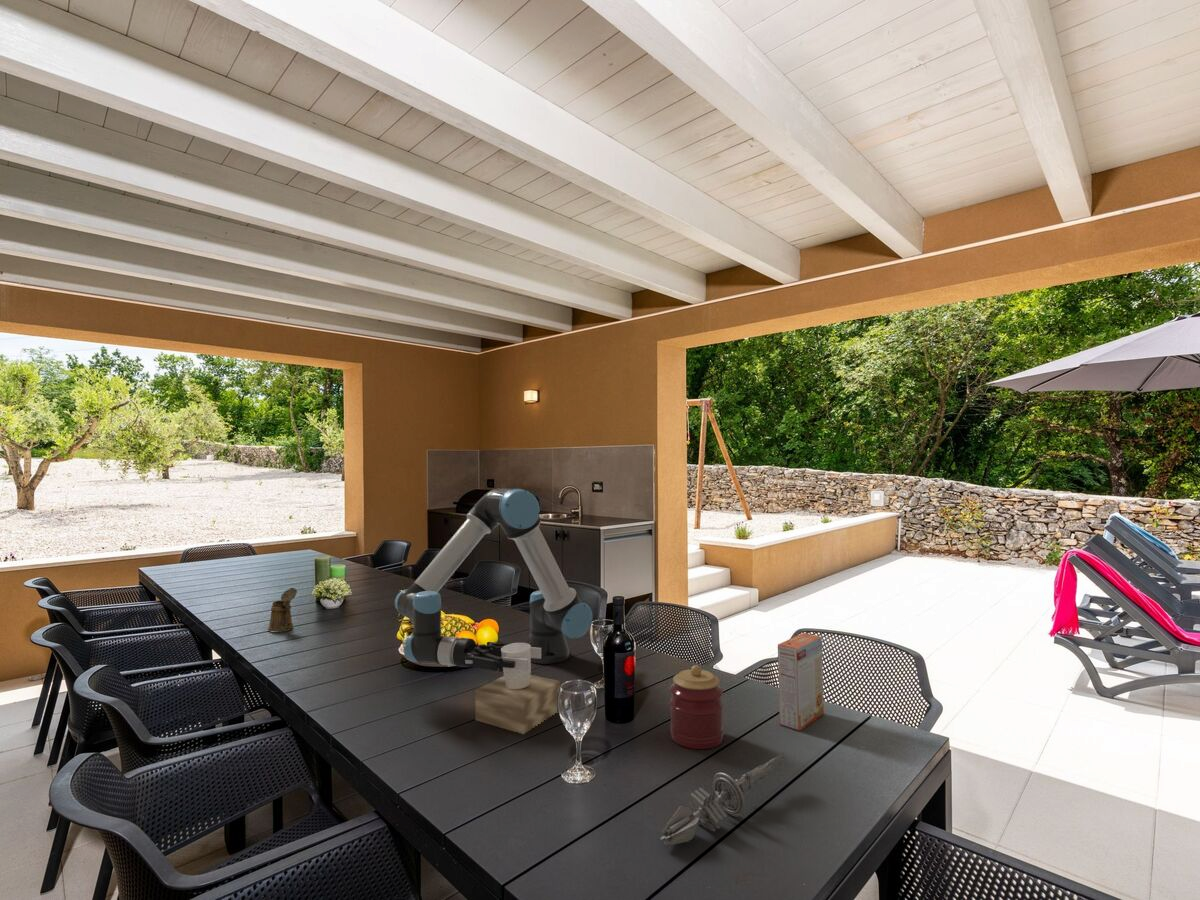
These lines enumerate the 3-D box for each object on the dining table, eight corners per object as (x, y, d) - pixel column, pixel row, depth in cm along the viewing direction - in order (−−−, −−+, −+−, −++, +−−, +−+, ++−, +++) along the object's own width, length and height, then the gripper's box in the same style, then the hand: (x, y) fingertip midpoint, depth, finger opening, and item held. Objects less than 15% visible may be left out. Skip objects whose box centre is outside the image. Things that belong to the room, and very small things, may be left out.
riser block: (514, 698, 170) (514, 670, 170) (560, 710, 162) (559, 681, 162) (475, 720, 156) (475, 689, 156) (523, 734, 148) (523, 702, 148)
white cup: (527, 691, 155) (525, 652, 154) (498, 690, 156) (496, 652, 156) (536, 678, 162) (534, 642, 162) (509, 678, 164) (507, 642, 164)
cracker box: (803, 708, 162) (802, 631, 163) (824, 715, 158) (823, 636, 158) (777, 724, 152) (776, 643, 153) (799, 732, 148) (798, 648, 148)
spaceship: (804, 755, 121) (773, 728, 126) (683, 842, 100) (652, 804, 105) (794, 784, 123) (764, 756, 129) (674, 874, 102) (644, 836, 108)
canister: (660, 731, 149) (660, 661, 149) (704, 722, 154) (703, 653, 154) (688, 755, 137) (687, 678, 137) (734, 744, 142) (733, 670, 143)
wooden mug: (280, 635, 233) (280, 589, 233) (263, 630, 240) (263, 585, 241) (302, 630, 240) (302, 585, 240) (285, 625, 248) (286, 582, 248)
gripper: (476, 653, 174) (548, 659, 168) (437, 679, 154) (518, 687, 148) (476, 627, 174) (548, 633, 168) (437, 650, 154) (518, 657, 148)
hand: (534, 658), depth 158 cm, fingers open, 8 cm apart
